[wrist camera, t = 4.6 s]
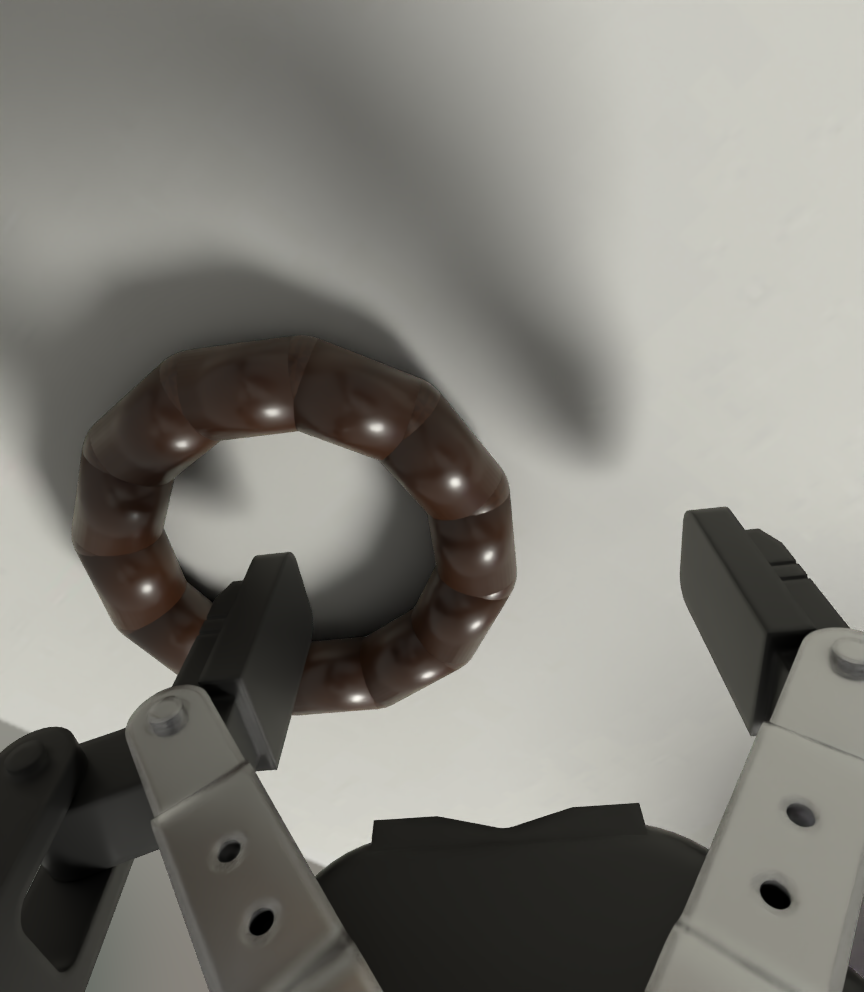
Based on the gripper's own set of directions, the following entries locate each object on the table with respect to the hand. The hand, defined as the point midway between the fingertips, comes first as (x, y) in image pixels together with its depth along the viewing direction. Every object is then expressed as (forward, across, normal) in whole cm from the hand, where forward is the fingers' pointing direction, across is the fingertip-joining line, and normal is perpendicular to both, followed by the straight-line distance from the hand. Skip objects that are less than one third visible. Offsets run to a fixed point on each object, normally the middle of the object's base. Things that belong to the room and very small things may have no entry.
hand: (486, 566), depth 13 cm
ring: (+1, +4, 0) cm, 4 cm away
